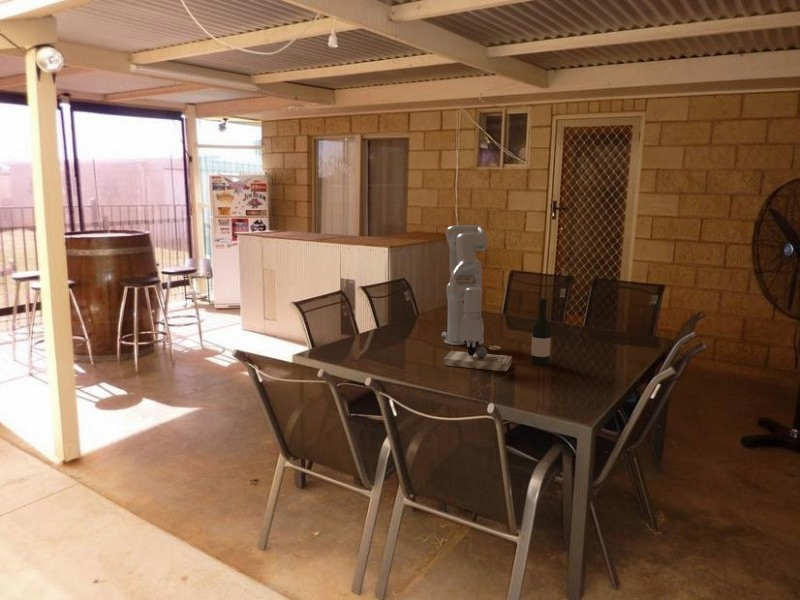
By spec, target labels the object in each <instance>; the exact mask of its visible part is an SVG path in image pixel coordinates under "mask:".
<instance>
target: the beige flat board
mask: <svg viewBox="0 0 800 600" xmlns="http://www.w3.org/2000/svg"><path fill="white" fill-rule="evenodd" d="M511 363H512V364H513V356H511V355H502V354H501V355H500V354H490V353H489V354H488V353H487V355H486V356H485V357H484V358H479V357H477V355H476V352H475V354H474V355H473V356H469V353H468V351H456V350H450V352H449V353H448V354H447V355H446V356H444V358H443V366H450V367H459V368H470V369H478V370H479V369H480V370H487V371H496V372H497V371H499V372H508V371H509V368H511V365H512V364H511ZM507 370H508V371H507Z"/></svg>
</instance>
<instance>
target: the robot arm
mask: <svg viewBox="0 0 800 600" xmlns="http://www.w3.org/2000/svg"><path fill="white" fill-rule="evenodd" d="M445 236H446V242H447V244H448V248H449V274H450V277H449V281H448V283H447V284H446V287H445V288H446V298H447V332H446V331H443V332H442V333H441V337H444V338H445V339H443V341H444V343H445V344H447V345H452V346H463V345H464V344H465V345H466V347H467V352H468V353H469V356H473V355H474V354H475V353H476V347H477V346H478V345H481V344H484V343H485V341H484V337H485V335H484V334H485V332H484V331H485V328H484V321H483V318H482V297H483V289H482V287H483V286H482V283H483V282H482V280H483V269H482V268H483V267H482V262H481V261H480V260H479V259H477V255H476V251H485V250H486V249H487V247H488V238H487V235H486V232H485V230H484V229H483V227H482V226H481V225H478V224H477V225H476V224H469V225H467V224H455V225H450V226H448V227H446V230H445ZM457 279H471V280H457ZM465 345H464V346H465Z"/></svg>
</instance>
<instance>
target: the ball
mask: <svg viewBox="0 0 800 600" xmlns="http://www.w3.org/2000/svg"><path fill="white" fill-rule="evenodd" d="M475 353H476V355H477V357H479V358H484V357H485V356H486V355H487V354H488V350H487V348H485V347H484V346H479V347H477V348H475Z"/></svg>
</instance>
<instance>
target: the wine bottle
mask: <svg viewBox="0 0 800 600" xmlns="http://www.w3.org/2000/svg"><path fill="white" fill-rule="evenodd" d="M547 302H548V299H547V298H546V297H545V296H541V297H540V298H539V299H538V317H537V319H536V320H535V322H534V324H533V325H532V327H531V328H532V331H531V354H530V355H531V356H530V363H532V364H531V365H533V364H534V366H536V365H537V367H547V366H549V365H550V357H551V356H550V354H551V339H552V338H551V337H552V328H551V326H550V324H549V321H548V319H547V307H548V306H547V305H548V303H547ZM546 365H547V366H546Z"/></svg>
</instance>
